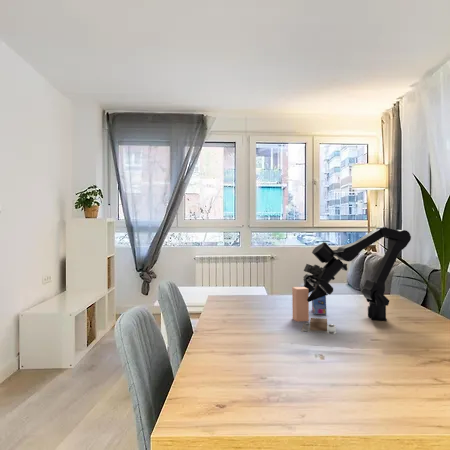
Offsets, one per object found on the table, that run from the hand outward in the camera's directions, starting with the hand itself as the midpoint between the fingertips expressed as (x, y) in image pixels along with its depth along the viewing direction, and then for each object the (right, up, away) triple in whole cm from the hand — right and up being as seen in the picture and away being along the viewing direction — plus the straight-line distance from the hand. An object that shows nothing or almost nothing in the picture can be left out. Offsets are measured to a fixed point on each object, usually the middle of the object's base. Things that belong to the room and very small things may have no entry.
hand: (303, 298), depth 159 cm
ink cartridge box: (+10, -9, +18) cm, 23 cm away
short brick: (+3, -8, -13) cm, 16 cm away
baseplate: (+3, -10, -13) cm, 17 cm away
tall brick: (-1, -10, 0) cm, 10 cm away
